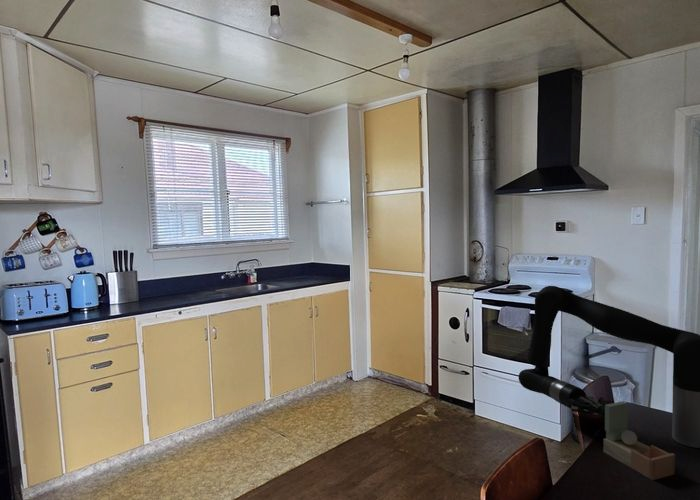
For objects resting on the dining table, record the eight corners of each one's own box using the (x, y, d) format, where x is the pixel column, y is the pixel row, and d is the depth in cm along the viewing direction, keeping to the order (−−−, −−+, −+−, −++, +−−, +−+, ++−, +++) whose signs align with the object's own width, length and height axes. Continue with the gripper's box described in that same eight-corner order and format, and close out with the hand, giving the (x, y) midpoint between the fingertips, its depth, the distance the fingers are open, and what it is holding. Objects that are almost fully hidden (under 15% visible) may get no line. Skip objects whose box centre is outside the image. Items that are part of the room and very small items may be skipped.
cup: (652, 462, 123) (652, 443, 123) (674, 474, 117) (675, 454, 117) (630, 467, 121) (631, 448, 121) (652, 480, 115) (652, 460, 115)
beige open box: (624, 446, 132) (624, 434, 132) (652, 462, 123) (652, 448, 123) (603, 451, 130) (603, 438, 129) (630, 467, 121) (631, 453, 121)
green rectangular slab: (622, 433, 132) (623, 401, 131) (630, 437, 129) (630, 404, 129) (604, 437, 130) (605, 404, 129) (612, 441, 127) (612, 408, 126)
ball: (628, 439, 128) (628, 426, 128) (640, 446, 124) (640, 432, 124) (617, 442, 127) (617, 429, 127) (629, 449, 123) (630, 435, 123)
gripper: (550, 386, 146) (593, 406, 129) (582, 380, 149) (628, 400, 133) (551, 408, 146) (593, 431, 130) (582, 402, 150) (627, 423, 133)
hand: (610, 415), depth 131 cm, fingers closed
